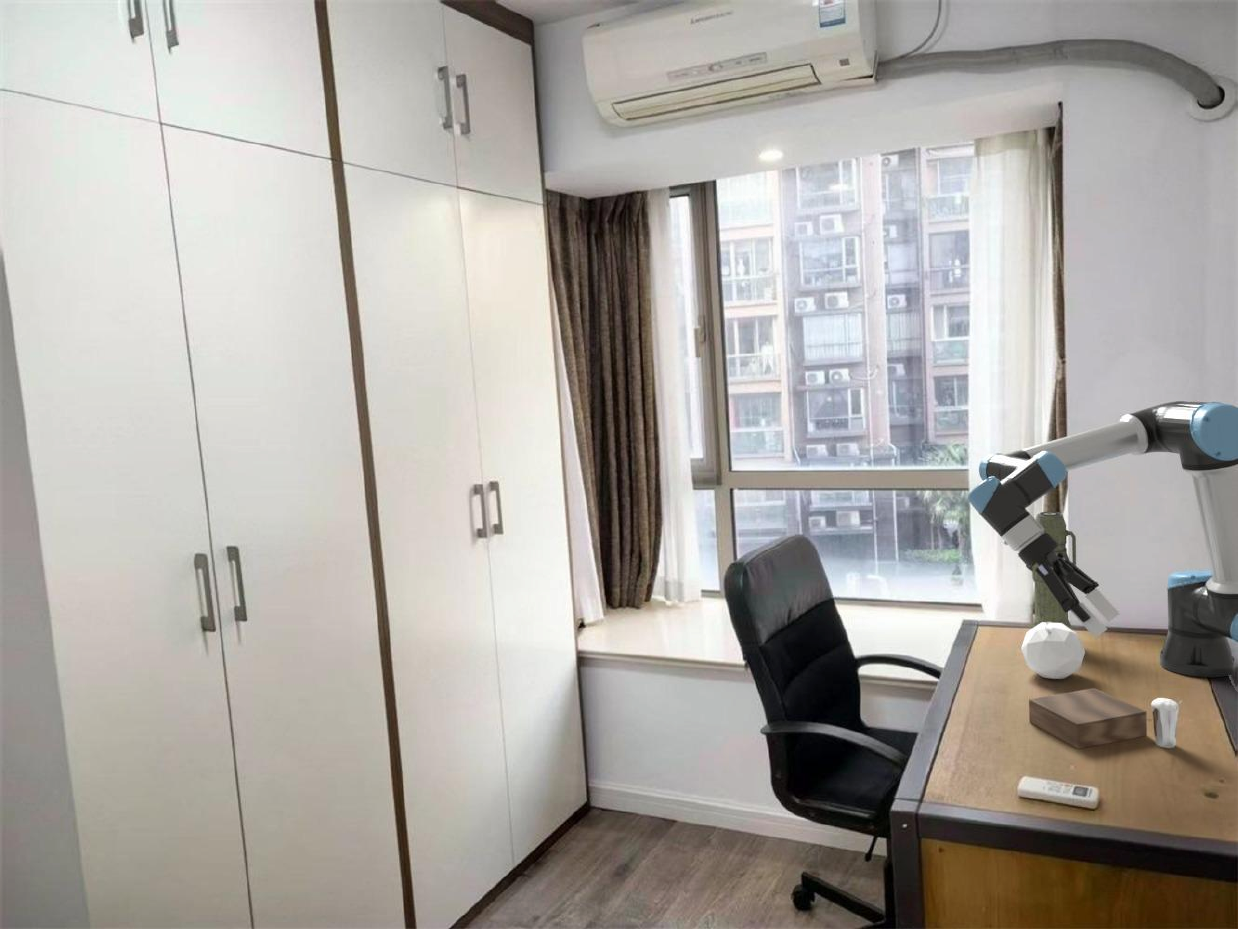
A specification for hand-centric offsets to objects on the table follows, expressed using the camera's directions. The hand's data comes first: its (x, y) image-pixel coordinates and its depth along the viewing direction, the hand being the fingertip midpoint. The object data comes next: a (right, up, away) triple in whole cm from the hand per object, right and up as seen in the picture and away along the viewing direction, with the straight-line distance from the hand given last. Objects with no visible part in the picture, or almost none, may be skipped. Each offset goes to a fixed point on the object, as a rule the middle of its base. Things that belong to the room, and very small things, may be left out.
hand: (1108, 625), depth 177 cm
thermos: (+16, -15, +56) cm, 61 cm away
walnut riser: (-1, -22, +5) cm, 23 cm away
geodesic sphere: (+6, -19, +35) cm, 40 cm away
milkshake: (+9, -23, -4) cm, 25 cm away
